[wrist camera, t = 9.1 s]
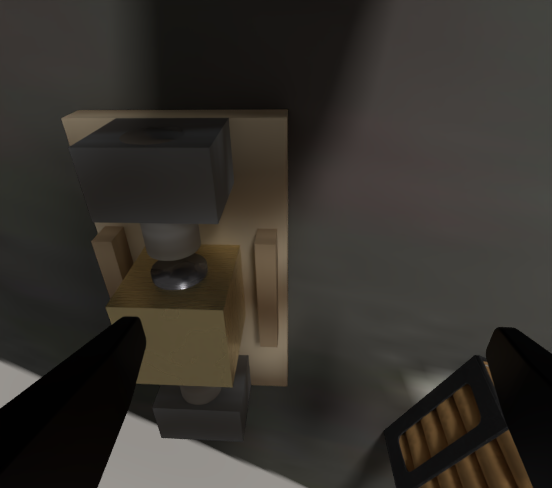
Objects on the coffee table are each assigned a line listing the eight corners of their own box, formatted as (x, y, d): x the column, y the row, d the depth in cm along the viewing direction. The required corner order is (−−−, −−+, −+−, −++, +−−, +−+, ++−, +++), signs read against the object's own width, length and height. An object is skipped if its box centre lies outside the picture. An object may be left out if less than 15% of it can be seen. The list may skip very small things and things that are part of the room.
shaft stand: (78, 110, 18) (0, 147, 13) (287, 109, 17) (282, 148, 13) (152, 363, 28) (121, 436, 23) (287, 368, 27) (285, 443, 22)
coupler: (239, 240, 20) (222, 304, 15) (246, 319, 23) (233, 391, 18) (145, 238, 20) (103, 301, 16) (164, 316, 23) (133, 387, 19)
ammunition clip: (476, 353, 25) (594, 587, 15) (498, 362, 25) (627, 598, 15) (382, 431, 31) (422, 642, 20) (401, 438, 31) (450, 648, 21)
